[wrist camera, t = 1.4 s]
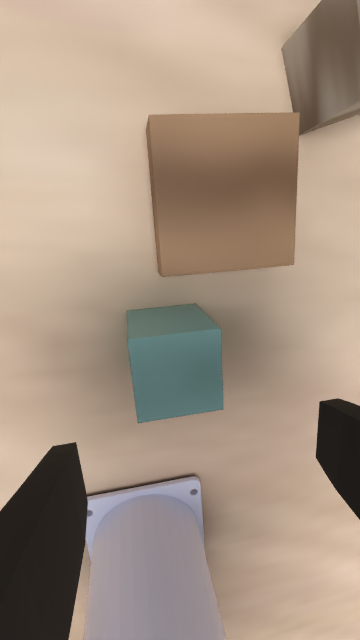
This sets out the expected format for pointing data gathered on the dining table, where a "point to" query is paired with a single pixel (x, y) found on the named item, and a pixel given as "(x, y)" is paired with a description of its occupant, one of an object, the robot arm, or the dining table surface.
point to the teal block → (174, 361)
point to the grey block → (325, 65)
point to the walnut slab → (223, 190)
